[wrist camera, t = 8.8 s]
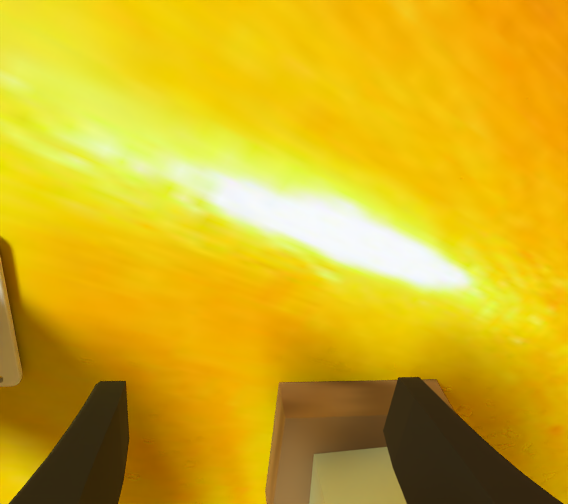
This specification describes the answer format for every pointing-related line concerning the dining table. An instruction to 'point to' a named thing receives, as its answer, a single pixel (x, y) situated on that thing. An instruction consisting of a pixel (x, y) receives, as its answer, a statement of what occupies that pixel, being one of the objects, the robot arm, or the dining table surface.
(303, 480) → the walnut pedestal
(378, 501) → the pale yellow block
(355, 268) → the dining table surface
